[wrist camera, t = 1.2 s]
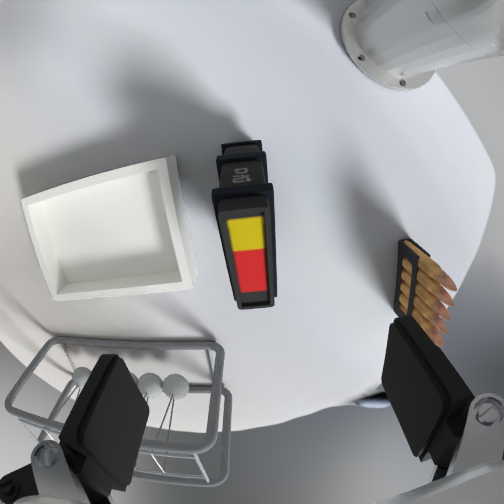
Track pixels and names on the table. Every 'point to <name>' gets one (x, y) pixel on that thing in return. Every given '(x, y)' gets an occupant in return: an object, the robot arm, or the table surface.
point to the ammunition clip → (422, 289)
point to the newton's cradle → (150, 388)
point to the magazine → (247, 223)
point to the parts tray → (114, 233)
